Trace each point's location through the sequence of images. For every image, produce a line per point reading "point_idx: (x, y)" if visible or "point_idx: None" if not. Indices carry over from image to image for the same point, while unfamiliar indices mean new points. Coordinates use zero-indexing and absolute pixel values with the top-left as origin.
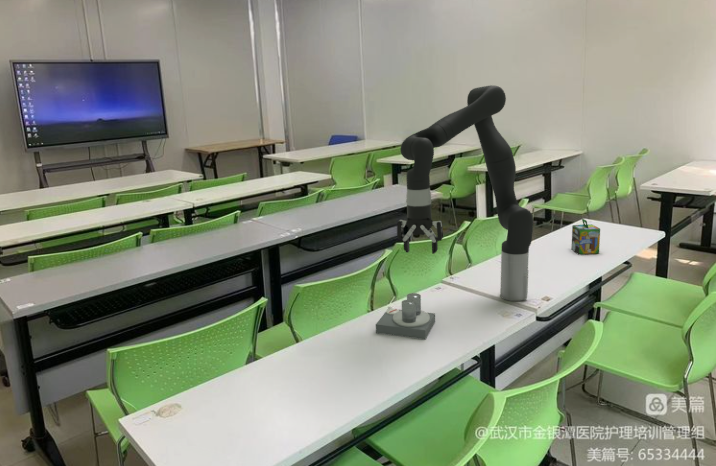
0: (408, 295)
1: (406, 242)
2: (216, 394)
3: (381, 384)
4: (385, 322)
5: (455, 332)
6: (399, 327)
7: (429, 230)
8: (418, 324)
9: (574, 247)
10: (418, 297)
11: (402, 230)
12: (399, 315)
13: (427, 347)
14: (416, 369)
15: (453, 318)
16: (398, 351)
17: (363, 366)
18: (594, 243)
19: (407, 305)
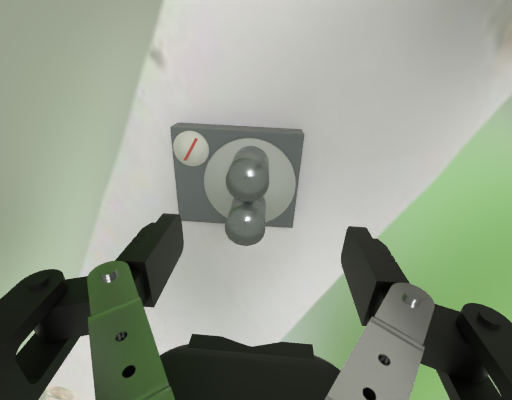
0: (230, 183)
1: (149, 302)
2: (80, 373)
3: (252, 337)
4: (196, 208)
5: (352, 175)
6: None
7: (375, 380)
8: (274, 217)
9: None
10: (264, 192)
11: (15, 362)
12: (219, 185)
13: (299, 244)
14: (291, 304)
15: (348, 95)
16: (251, 264)
17: (212, 308)
18: None
19: (246, 244)
